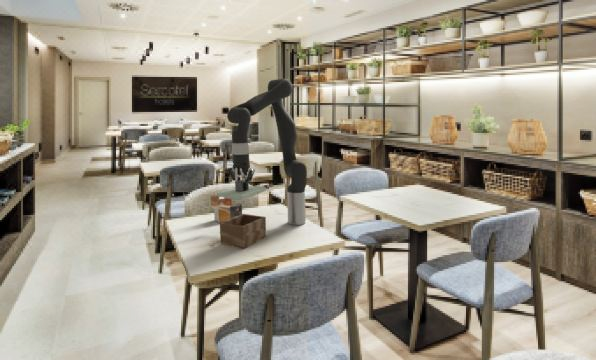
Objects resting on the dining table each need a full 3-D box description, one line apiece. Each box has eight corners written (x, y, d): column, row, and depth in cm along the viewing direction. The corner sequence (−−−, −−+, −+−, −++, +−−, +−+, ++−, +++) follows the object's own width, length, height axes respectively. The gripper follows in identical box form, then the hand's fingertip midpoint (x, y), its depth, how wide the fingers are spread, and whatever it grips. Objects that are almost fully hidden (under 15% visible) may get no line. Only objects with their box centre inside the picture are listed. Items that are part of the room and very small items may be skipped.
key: (215, 206, 214) (214, 194, 213) (239, 210, 207) (238, 197, 205) (211, 208, 211) (210, 195, 210) (235, 211, 204) (234, 198, 203)
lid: (242, 190, 206) (241, 175, 204) (266, 192, 199) (266, 178, 198) (217, 198, 190) (216, 183, 188) (242, 201, 183) (241, 186, 182)
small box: (218, 222, 227) (217, 199, 225) (214, 220, 232) (213, 196, 230) (232, 220, 232) (231, 197, 229) (227, 217, 237) (227, 194, 234)
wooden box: (238, 232, 211) (237, 203, 208) (266, 237, 203) (265, 207, 200) (215, 243, 196) (213, 212, 193) (243, 248, 188) (242, 217, 185)
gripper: (258, 152, 190) (259, 189, 194) (233, 150, 197) (234, 187, 200) (248, 154, 184) (249, 193, 187) (222, 152, 191) (224, 190, 194)
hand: (242, 189), depth 194 cm, fingers closed on lid, 3 cm apart
